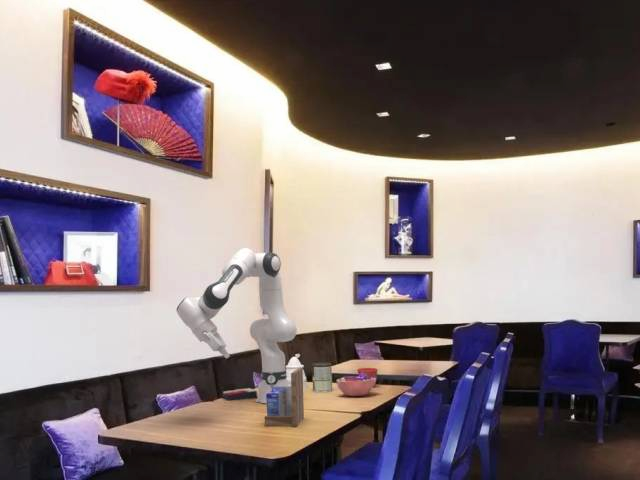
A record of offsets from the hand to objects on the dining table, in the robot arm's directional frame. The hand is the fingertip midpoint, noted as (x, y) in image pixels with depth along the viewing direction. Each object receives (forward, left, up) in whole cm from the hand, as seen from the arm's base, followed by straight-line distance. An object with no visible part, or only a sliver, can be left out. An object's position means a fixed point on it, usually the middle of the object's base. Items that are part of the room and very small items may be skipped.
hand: (228, 357), depth 247 cm
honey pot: (-90, +11, -26) cm, 94 cm away
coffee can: (-77, +28, -26) cm, 86 cm away
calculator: (-57, -11, -26) cm, 64 cm away
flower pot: (-89, +51, -26) cm, 106 cm away
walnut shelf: (+2, +23, -25) cm, 34 cm away
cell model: (-61, +47, -26) cm, 81 cm away
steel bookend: (-6, +22, -25) cm, 34 cm away
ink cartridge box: (+2, +20, -26) cm, 32 cm away
